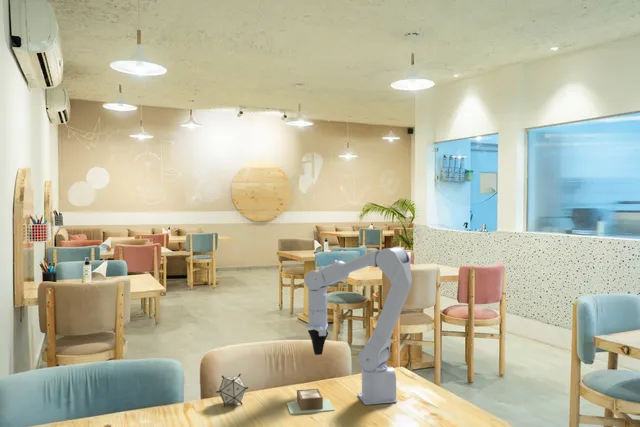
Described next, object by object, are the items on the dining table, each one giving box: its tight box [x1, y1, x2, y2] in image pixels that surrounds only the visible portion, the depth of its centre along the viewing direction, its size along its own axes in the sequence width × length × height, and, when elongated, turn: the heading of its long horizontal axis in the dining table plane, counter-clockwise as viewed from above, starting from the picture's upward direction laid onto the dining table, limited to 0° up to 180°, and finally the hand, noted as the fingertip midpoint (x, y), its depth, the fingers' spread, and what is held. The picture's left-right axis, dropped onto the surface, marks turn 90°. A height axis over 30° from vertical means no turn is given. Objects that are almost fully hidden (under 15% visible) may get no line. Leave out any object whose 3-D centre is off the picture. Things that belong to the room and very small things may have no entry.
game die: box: [215, 372, 249, 408], centre depth 140 cm, size 9×8×10 cm
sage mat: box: [286, 398, 335, 415], centre depth 137 cm, size 12×8×1 cm, turn 101°
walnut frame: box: [296, 388, 324, 411], centre depth 138 cm, size 6×3×7 cm
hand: (318, 354), depth 152 cm, fingers closed
